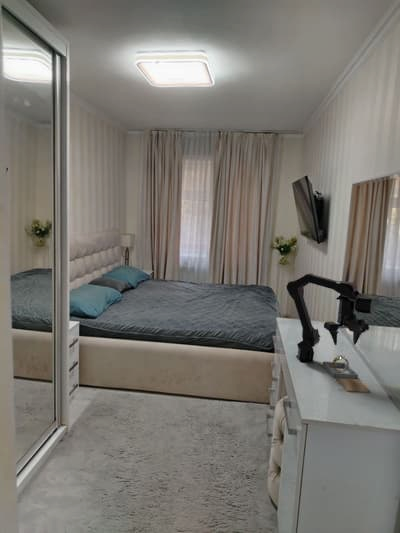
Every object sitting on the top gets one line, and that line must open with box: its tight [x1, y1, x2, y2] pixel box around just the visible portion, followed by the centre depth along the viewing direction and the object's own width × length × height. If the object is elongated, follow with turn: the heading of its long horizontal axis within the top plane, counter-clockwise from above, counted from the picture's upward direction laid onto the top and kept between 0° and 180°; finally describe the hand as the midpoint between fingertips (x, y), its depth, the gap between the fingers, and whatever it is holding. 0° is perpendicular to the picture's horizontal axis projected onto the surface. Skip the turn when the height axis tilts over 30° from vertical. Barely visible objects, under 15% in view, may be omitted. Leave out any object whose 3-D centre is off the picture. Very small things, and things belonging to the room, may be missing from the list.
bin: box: [322, 361, 359, 380], centre depth 166 cm, size 11×13×2 cm
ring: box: [331, 354, 350, 373], centre depth 166 cm, size 7×3×8 cm, turn 74°
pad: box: [335, 378, 372, 394], centre depth 153 cm, size 10×10×1 cm
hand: (345, 344), depth 164 cm, fingers open, 9 cm apart
